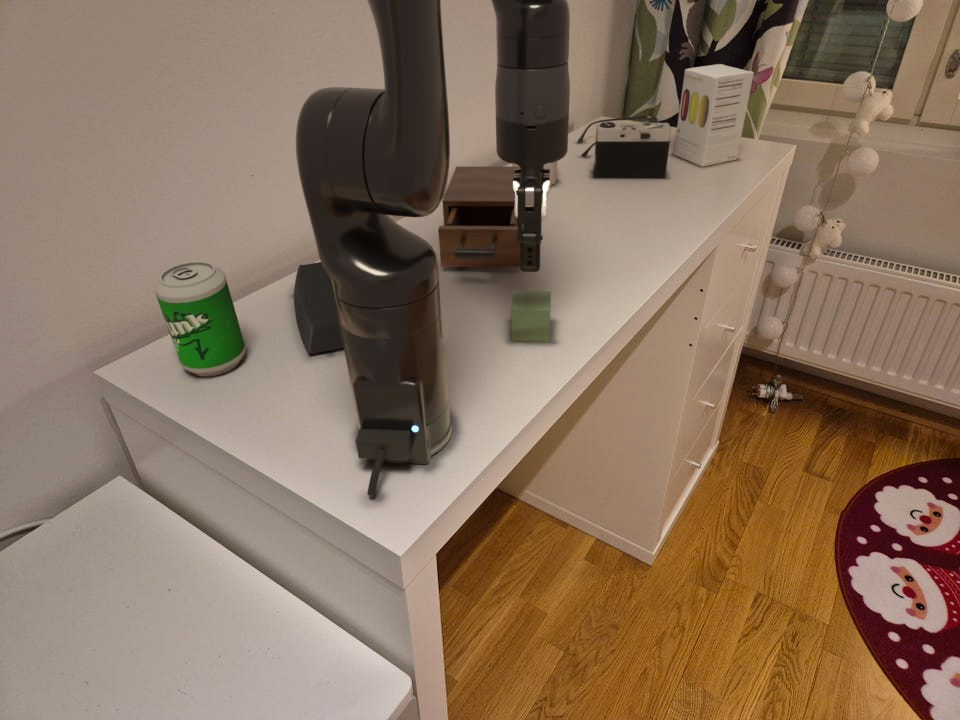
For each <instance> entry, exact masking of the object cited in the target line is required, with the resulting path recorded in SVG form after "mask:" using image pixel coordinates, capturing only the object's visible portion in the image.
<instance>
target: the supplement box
mask: <svg viewBox="0 0 960 720" xmlns="http://www.w3.org/2000/svg"><path fill="white" fill-rule="evenodd" d="M754 74H755V72H754V71H751V70H745V69H741V68H738V67H735V66H734V67H733V66H729V65H725V64H722V63H717V64H716V63H715V64H711V65H704V66H703V65H702V66H696V67H690V68H685V69H684V75H683V82H682V88H681V96H680V105H679V110H678V111H679V112H678V116H677V117H678V119H677V125H676V130H675V132H676V133H675V139H674V148H673V154H672V155H674V156H676V157H679V158H680V159H683V160H686V161H688V162H690V163H692V164H695V165H697V166H699V167H703V168H704V167H707V166H708V167H709V166H711V165H712V166H713V165H717V164H723V163H727V162H732V161H736V160H737V159H738V157H739V151H740V145H741V140H742V135H743V129H744V126H745V120H746V115H747V110H748V105H749V99H750V94H751V89H752V84H753V79H754Z"/></svg>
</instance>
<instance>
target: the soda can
mask: <svg viewBox="0 0 960 720" xmlns="http://www.w3.org/2000/svg"><path fill="white" fill-rule="evenodd" d="M153 288H154V293H155V297H156V299H157V302H158V306H159V308H160V310H161V314H162V316H163V319H164V321H165V325H166V327H167V330H168V333H169V335H170V338H171V341H172V344H173V347H174V350H175V353H176V355H177V358H178V361H179V363H180V366H181V367H182V368H183V369H184V370H185V371H188V372H190V373H192V374H194V375H197V376H200V377H215V376H220V375H222V374H225V373H228V372H230V371H231V370H233V369H234V368H236V367H237V366H238V365H239V364H240V363H241V360H242V358H243V357H244V356H245V353H246V352H247V346H246V344H245V340H244V337H243V332H242V329H241V326H240V321H239V318H238V316H237V312H236V309H235V305H234V302H233V297H232V294H231V290H230V287H229V284H228V280H227V276H226V273H225V272H224V270H222V269H220V267H216V265H214V264H212V263H211V262H208V261H201V260H200V261H199V260H198V261H197V260H196V261H195V260H194V261H188V262H187V261H186V262H182V263H178V264H176V265H173V266H171V267H169V268H167V269H165V270H164V271H163V272H161V273H160V275H159V279H158V280H157V281H156V282H155V285H154V287H153Z"/></svg>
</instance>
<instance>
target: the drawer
mask: <svg viewBox="0 0 960 720" xmlns="http://www.w3.org/2000/svg"><path fill="white" fill-rule="evenodd" d="M514 211H515V206H453V207H452V210H451V213H450V215H449V218H448V221H447V226H444V225H439V226H438V229H437V230H438V232H437V233H438V245H439V256H440V257H439V259H440V266H441V267H464V268H465V267H466V268H473V267H474V268H520V243H518V240H516V236H517V233H518V220H516V219H515V214H514Z"/></svg>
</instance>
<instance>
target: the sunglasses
mask: <svg viewBox="0 0 960 720" xmlns="http://www.w3.org/2000/svg"><path fill="white" fill-rule="evenodd" d="M630 120H632V121H633V120H649V123H659V119H658V117H657V116H655V115H654V114H653V115H652V114H651V115H650V114H647V115H635V116H625V117H615V118H606V119H600V120H596V121H594V122H591V123H590V124H588V125H587V126H586V127H585V129H584V131H583V132H582V134H581V135H580V137H579V138H578V139H577V143H580V144H581V143H583V141H584V138H585V136H586V133H587V132H588V130H589V128H591V127H592V126H593V125H595V124H598V123H603V122H604V123H605V122H615V121H616V122H617V121H630ZM593 147H595V142H593V143H592V144H591V145H590V146H588V148H587V149H586V150H585V151H584V152H583V153H581V155H580V156H581V157H587V156H588V155H589V152H590V151H591V149H592V148H593Z"/></svg>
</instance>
